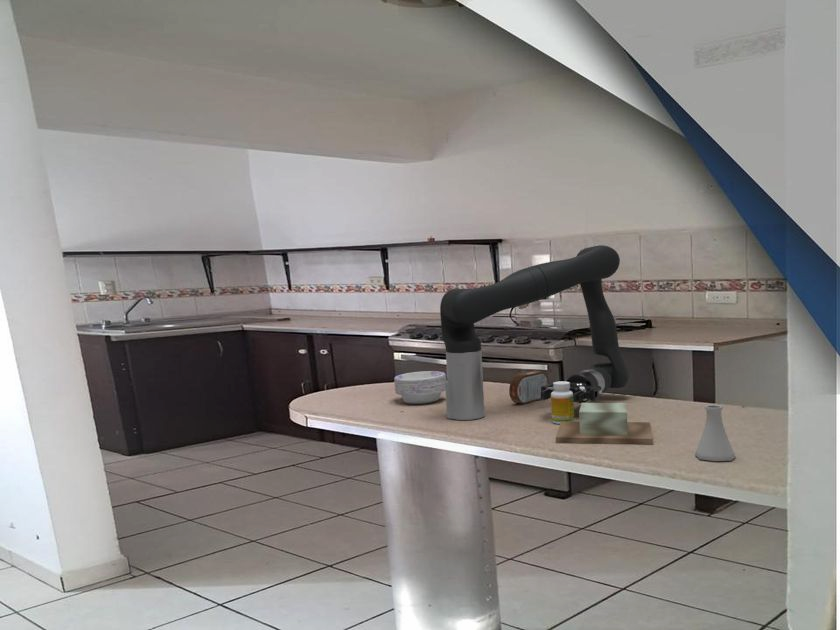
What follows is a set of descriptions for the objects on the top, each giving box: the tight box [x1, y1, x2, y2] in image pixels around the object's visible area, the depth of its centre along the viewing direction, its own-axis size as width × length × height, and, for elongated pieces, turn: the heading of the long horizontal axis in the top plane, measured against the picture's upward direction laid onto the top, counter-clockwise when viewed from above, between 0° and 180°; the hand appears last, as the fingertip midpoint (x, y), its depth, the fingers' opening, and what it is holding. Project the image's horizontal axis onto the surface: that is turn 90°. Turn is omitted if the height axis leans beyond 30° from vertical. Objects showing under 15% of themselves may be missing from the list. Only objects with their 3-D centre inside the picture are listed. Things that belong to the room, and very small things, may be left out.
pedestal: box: [555, 402, 654, 445], centre depth 156 cm, size 20×15×6 cm
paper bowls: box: [393, 370, 447, 405], centre depth 206 cm, size 15×15×8 cm
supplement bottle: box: [550, 380, 575, 425], centre depth 170 cm, size 5×5×10 cm
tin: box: [508, 369, 550, 405], centre depth 197 cm, size 15×3×8 cm, turn 133°
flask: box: [694, 404, 736, 462], centre depth 135 cm, size 7×7×10 cm
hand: (558, 397), depth 169 cm, fingers open, 8 cm apart
